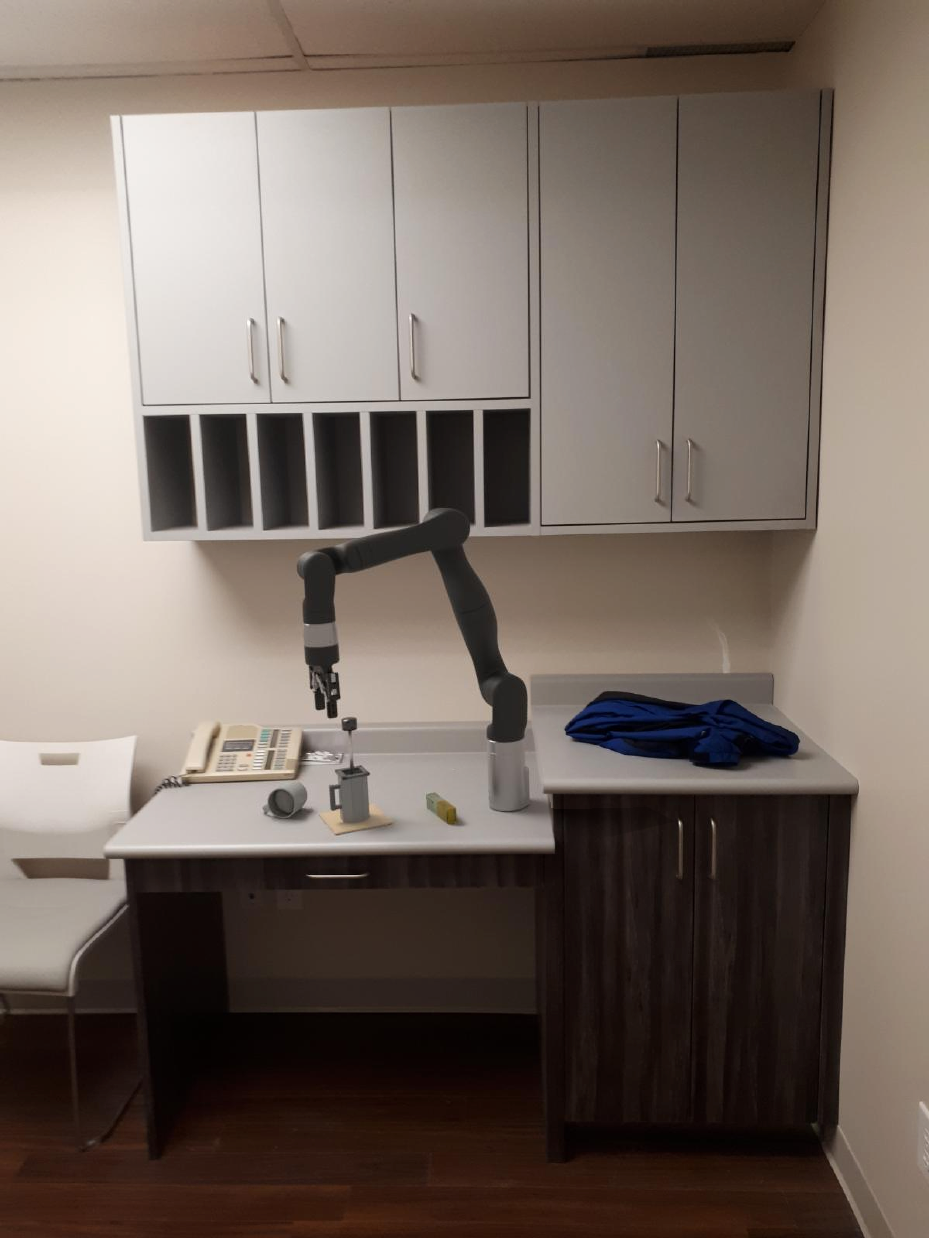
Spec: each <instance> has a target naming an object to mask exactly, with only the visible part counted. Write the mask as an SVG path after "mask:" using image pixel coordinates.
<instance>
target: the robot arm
mask: <svg viewBox="0 0 929 1238" xmlns="http://www.w3.org/2000/svg"><path fill="white" fill-rule="evenodd" d="M470 533H471V523H470V521H469V518H468V517H467V516H466V515H465V513H463V512H462V511H460V510H457V509H455V508H450V507H448V508H447V507H437V508H436V507H435V508H433V509H431V510H429V511H427V512H426V514H425V515H424V517H423V520H422V522H420V523H418V524H415V525H410V526H408V527H407V526H406V527H404V528H398V529H395V530H389V531H388V530H387V531H383V532H378V533H373V534H369V535H365V536H361V537H358V538H356V539H355V538H354V539H352V540H351V539H350V540H349V541H346V542H343V543H340V544H336V545H330V546H326V547H325V546H324V547H320V548H316V549H313V550H308V551H307V552H304V553H303V554H302V555H300V557H299V558H298V560H297V562H296V572H297V574H298V575H299V577H300V579H301V580H303V584H304V585H303V586H304V598H303V600H302V606H301V607H302V622H303V627H302V628H303V629H302V630H303V631H302V632H303V633H302V637H303V649H304V650H303V651H304V652H303V653H304V662H305V665H307V666H308V674H309V675H308V677H309V688H310V690H311V691H312V695H313V694H314V695H313V696H314V708H315V710H316V711H324V710H325V709H326V717H327V718H328V719H329V720H331V719H335V718H337V717H339V716H338V715H339V714H338V711H339V710H338V701H339V700H341V698H342V697H341V687H340V674H339V672H338V671H336V672H335V671H334V669H333V666H334V665H335V664H338V663H339V662H340V646H339V632H338V626H337V622H336V619H337V618H336V609H335V608H336V606H335V592H336V576H339V575H342V574H353V573H358V572H362V571H365V570H367V569H368V570H369V569H371V568H375V567H378V566H380V565H384V564H387V563H390V562H393V561H396V560H399V559H403V558H405V557H406V558H407V557H409V556H412V555H417V554H421V553H427V552H430V553H431V554H432V555H431V556H433V558H434V562H435V564H436V565H437V567H438V570H439V573H440V575H441V578H442V582H443V585H444V587H445V591H446V594H447V596H448V599H449V602H450V605H451V609H452V612H453V614H454V617H455V621H456V623H457V625H458V628H459V630H460V634H461V635H462V638H463V640H464V643H465V646H466V648H467V650H468V653H469V656H470V658H471V660H472V664H473V668H474V671H475V675H476V679H477V684H478V689H479V692H480V695H481V697H482V699H483V701H484V702H485V703H486V704H488V706H490V707H491V709H492V710H491V713H492V714H491V718H492V719H491V723H490V724H488V725H487V727H486V753H487V754H486V755H487V778H488V780H487V781H488V782H487V783H488V785H487V786H488V805H489V808H490V809H493V810H495V811H499V812H516V811H520V810H522V809H524V808H525V807H528V806H530V805H531V800H530V797H531V795H530V768H529V767H528V766H527V765H526V744H525V743H526V741H525V740H526V739H525V738H526V737H525V736H526V735H525V733H526V732H525V731H526V729H527V725H528V714H529V713H528V711H529V710H528V709H529V707H528V706H529V705H528V699H529V698H528V689H527V685H526V683H525V682H524V680H523V679H522V678H520V677H519V676H517V675H515V674H513V673H511V672H509V670H508V668H507V665H506V664H505V662H504V659H503V657H502V654H501V651H500V649H499V640H498V639H499V638H498V636H499V635H498V620H497V615H496V611H495V609H494V606H493V605H494V604H492V600H491V597H490V594H489V593H488V591H487V589H486V587H485V585H484V584H483V582H482V580H481V579H480V577H479V576H478V575H477V573H476V572H475V570H474V568H473V567H472V565H471V563H470V562H469V560H468V557H467V556H466V555H467V554H466V553H465V549H464V546H463V545H464V543H466V541H467V540H468V538H469V536H470Z"/></svg>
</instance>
